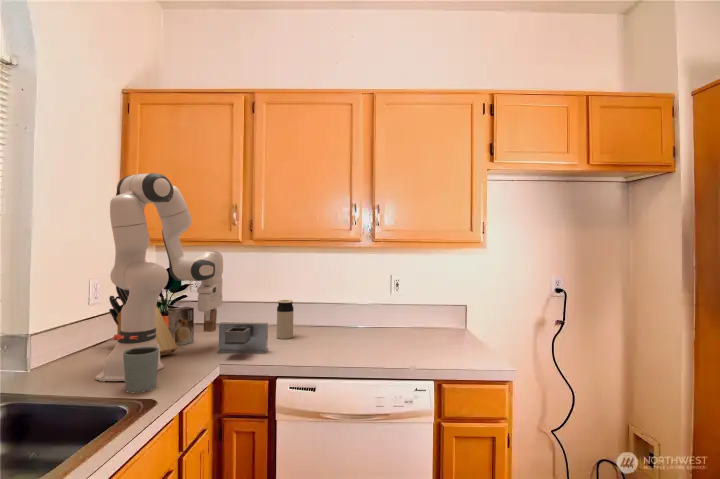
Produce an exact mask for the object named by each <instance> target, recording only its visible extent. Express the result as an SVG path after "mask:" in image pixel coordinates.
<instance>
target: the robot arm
mask: <svg viewBox="0 0 720 479" xmlns="http://www.w3.org/2000/svg"><path fill="white" fill-rule="evenodd" d="M146 204H153V205H154V206H155V208H156V212H157V214H158V217H159V220H160V221H161V226H162V229H161V236H162V241H163V244H164V248H165V250H166V254H167V258H168V267H169V268H168V270H169V272H168V270H167V269H166V268H165V267H163V265H160V264H158V263H155V262H152V261H151V262H149V261H148V262H147V260H146V256H147V249H148V248H149V246H150V244H151V243H150V242H151V240H150V234H149V230H148V225H147V219H146V216H145V208H146ZM109 218H110V224H111V229H112V236H113V242H114V248H115V256H114V257H115V258H114V265H113V267H112V268H111V271H110V276H109V277H110V280H111V283H112V284H113V285H114V286H115V287H116V286H118V287H119V288H121V289H124V290H129V296H128V300H127V302H126V304H125V305H124V306H123V307H122V310H121V330H120V332H119V334H118V335H117V334H114V335H113V341H116V344H115V346H114V347H113V349H112V350H111V351H110V353H109V355H108V356H107V357H106V359H105V360H104V366H103V370H102V371H101V372H100V373H98V374H97V375H95V379H96V380H95V381H97V380H99V382H105V381H124V382H125V372H124V359H123V352H124V351H126V350H129V349H133V348H139V347H157V348H159V344H158V343H157V342H156V340H155V338H156V333H157V331H156V328H155V312H156V305H157V304H158V300H159V298H160V294H161V292H162V291H163V290H164V288H165V287H166V286H167V285H168V282H169V275H170V276H171V277H172V279H174V280H175V281H178V282H181V281H182V282H184V281H185V282H186V281H189V282H200V284H199V286H198V287H197V289H196V293H197V294H198V295H197V311H198V312H203V314H204V313H205V320H210V319H211V316H210V310H217V308H220V307H222V305H223V272H224V259H223V255H222V253H221V252H218V251H213V250H205V251H204V252H203V253H202V254H201V255H199V256H197V257H193V258H190V257H187V256H185V254H184V251H183V247H182V243H181V235H182V234H183V233H185V232H186V231H187V230H189V228H190V226H191V223H192V217H191V213H190V210H189V207H188V205H187V202H186V200H185V198H184V196H183V194H182V192H181V191H180V190H179V188H178V187H177V186H175V185H172V183H171V180H169V178H168V177H167V176H165V175H163V174H161V173H158V172H157V173H156V172H153V173H152V172H151V173H137V174H133V175H127V176H124V177H122V178H121V179H120V180H119V181H118V182H117V185H116V193H115V196H113V197H112V198H111V200H110V201H109ZM217 311H218V310H217ZM117 342H118V343H117ZM164 368H165V367H164V364H163V363H161V356H160V349H159V355H158V367H157V371H159V370H161V369H164Z"/></svg>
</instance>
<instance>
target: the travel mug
mask: <svg viewBox="0 0 720 479" xmlns="http://www.w3.org/2000/svg"><path fill="white" fill-rule="evenodd" d="M293 302H294V301H293V300H292V299H279V300H277V303H278V305H277V306H276V338H277V339H280V340H287V339H288V340H290V339H292V338H293V337H294V306H293Z"/></svg>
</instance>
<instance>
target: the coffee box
mask: <svg viewBox="0 0 720 479" xmlns="http://www.w3.org/2000/svg"><path fill="white" fill-rule="evenodd" d="M167 309H168V310H167V311H168V312H167V315H168V316H167V318H168V319H167V322H168V324H167V325H168V326H167V327H168V329H169V331H170V333H171V335H172V337H173V339H174V341H175V343H176V345H177V347H178V346H181V345H186V344H193V343H194V342H195V340H194V338H195V336H194V334H195V332H194V330H195V329H194V328H195V326H194V325H195V321H194V320H195V319H194V318H195V315H194V314H195V311H194V309H195V308H194V307H191V306H181V307H173V308H167Z"/></svg>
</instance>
